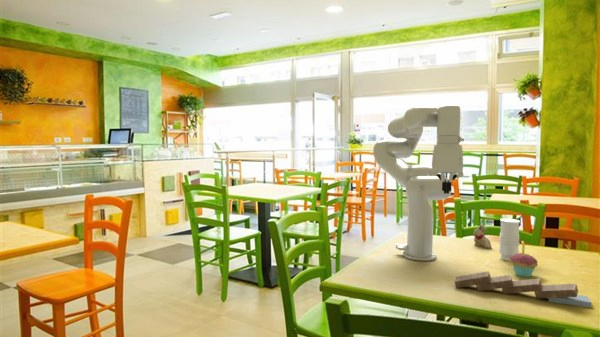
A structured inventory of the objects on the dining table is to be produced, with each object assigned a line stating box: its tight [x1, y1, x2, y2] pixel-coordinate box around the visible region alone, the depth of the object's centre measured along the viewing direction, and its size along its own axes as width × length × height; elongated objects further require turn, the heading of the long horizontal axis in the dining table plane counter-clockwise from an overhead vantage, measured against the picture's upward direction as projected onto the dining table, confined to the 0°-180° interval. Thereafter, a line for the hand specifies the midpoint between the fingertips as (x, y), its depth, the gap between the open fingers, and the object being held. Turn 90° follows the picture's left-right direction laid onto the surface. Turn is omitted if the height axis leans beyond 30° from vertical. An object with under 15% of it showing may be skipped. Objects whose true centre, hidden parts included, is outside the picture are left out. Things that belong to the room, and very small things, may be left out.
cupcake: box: [508, 240, 538, 278], centre depth 139 cm, size 9×8×12 cm
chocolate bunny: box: [472, 223, 492, 250], centre depth 176 cm, size 6×8×10 cm
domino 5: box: [547, 294, 592, 308], centre depth 117 cm, size 2×5×10 cm
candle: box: [498, 218, 521, 262], centre depth 158 cm, size 7×7×15 cm
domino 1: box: [453, 270, 492, 289], centre depth 127 cm, size 2×5×10 cm
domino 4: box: [533, 283, 579, 299], centre depth 116 cm, size 2×5×10 cm
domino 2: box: [475, 274, 514, 292], centre depth 125 cm, size 2×5×10 cm
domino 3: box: [501, 278, 542, 295], centre depth 121 cm, size 2×5×10 cm
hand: (446, 193), depth 144 cm, fingers closed
